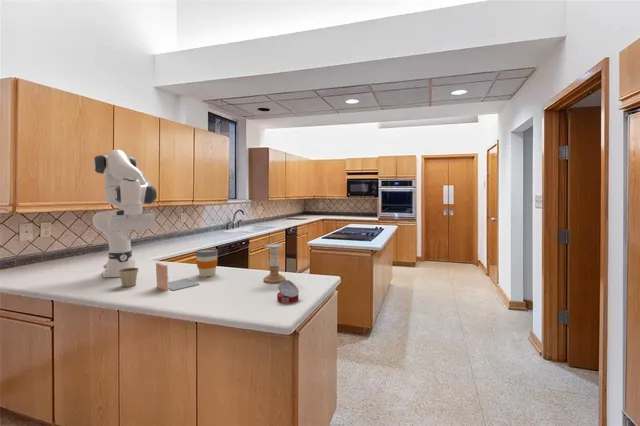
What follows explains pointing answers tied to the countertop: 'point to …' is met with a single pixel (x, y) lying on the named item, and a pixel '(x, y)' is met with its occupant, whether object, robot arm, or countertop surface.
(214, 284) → the countertop surface
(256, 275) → the countertop surface
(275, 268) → the candle holder
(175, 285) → the mat
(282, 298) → the canned food
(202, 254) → the reusable coffee cup
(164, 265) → the tile
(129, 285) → the flower pot
